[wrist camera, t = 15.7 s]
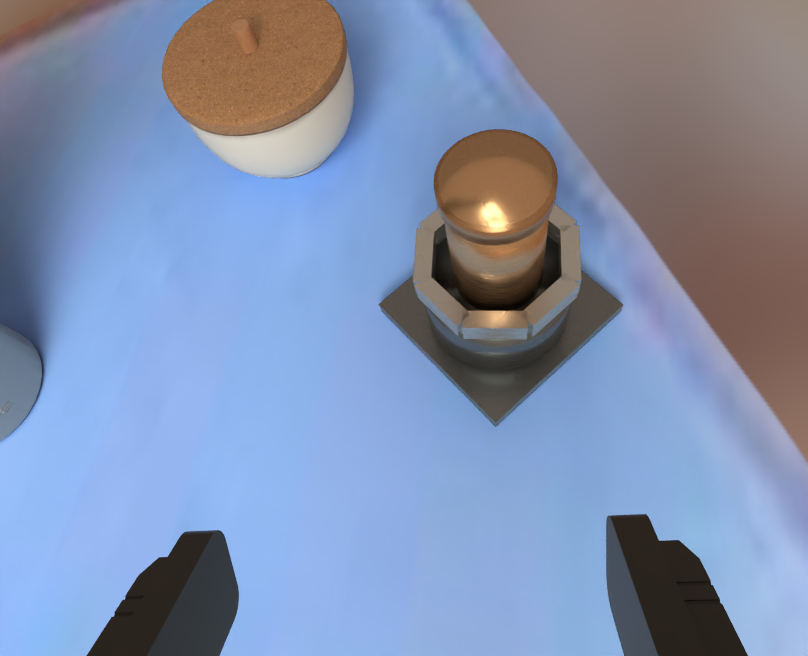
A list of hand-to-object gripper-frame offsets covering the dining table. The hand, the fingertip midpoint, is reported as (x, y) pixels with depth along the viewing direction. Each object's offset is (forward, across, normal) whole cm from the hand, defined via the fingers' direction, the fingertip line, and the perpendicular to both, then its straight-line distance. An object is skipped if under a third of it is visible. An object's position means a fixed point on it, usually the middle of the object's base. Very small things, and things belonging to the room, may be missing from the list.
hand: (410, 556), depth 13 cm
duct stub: (+29, -3, +5) cm, 30 cm away
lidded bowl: (+41, +12, -6) cm, 43 cm away
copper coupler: (+24, -3, +1) cm, 25 cm away
